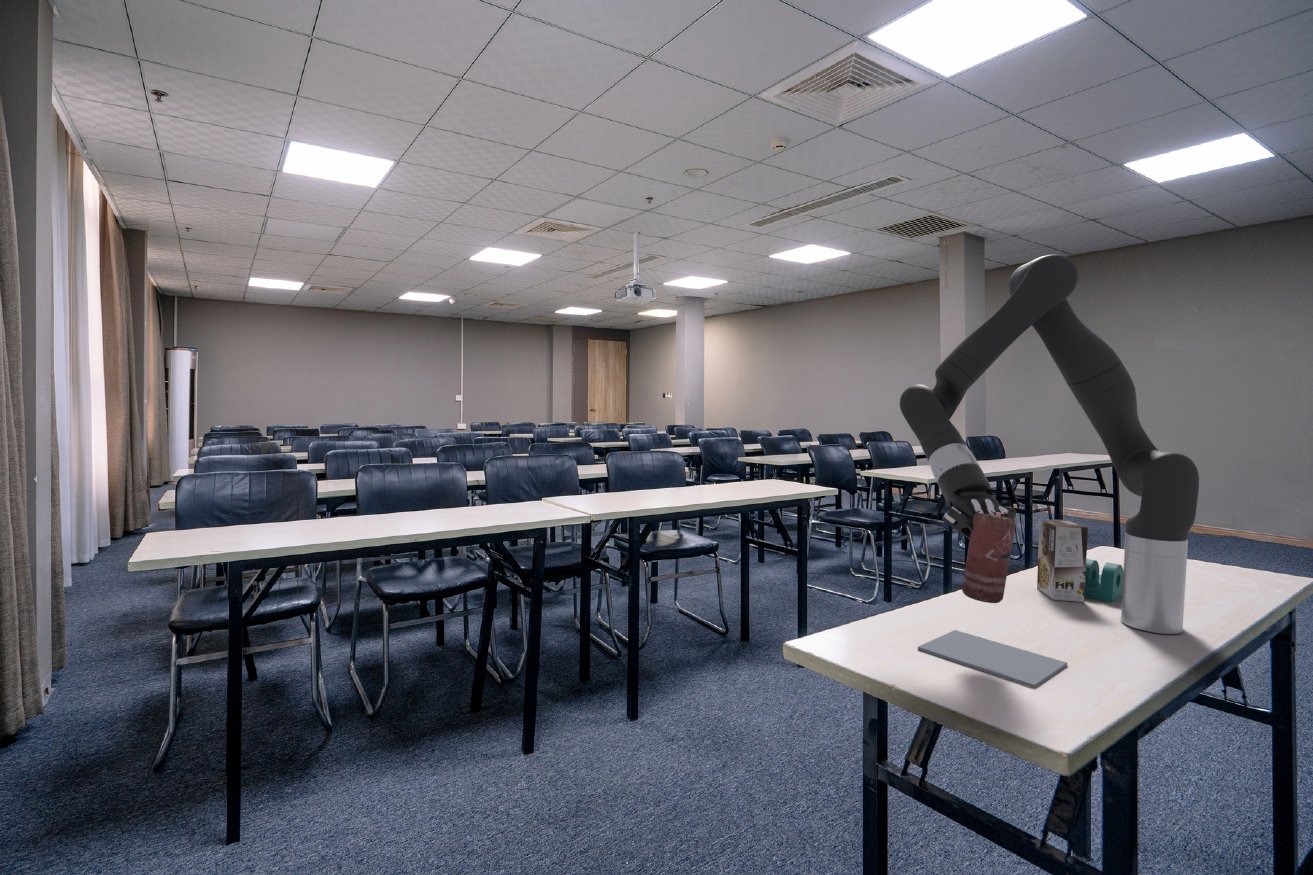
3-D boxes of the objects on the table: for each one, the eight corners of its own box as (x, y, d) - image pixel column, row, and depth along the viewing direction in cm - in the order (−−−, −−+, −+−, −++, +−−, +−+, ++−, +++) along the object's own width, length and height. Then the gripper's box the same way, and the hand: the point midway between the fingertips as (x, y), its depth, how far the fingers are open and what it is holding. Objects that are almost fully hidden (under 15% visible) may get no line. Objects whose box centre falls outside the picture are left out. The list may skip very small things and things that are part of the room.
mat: (954, 632, 114) (955, 629, 114) (1067, 665, 100) (1067, 662, 100) (917, 649, 106) (917, 646, 106) (1034, 688, 92) (1034, 684, 92)
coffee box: (1085, 602, 132) (1089, 527, 131) (1052, 600, 133) (1055, 525, 132) (1066, 590, 141) (1070, 519, 140) (1035, 588, 142) (1038, 518, 141)
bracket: (1112, 603, 132) (1113, 567, 132) (1075, 596, 137) (1077, 560, 137) (1138, 589, 143) (1140, 555, 143) (1103, 582, 148) (1105, 549, 148)
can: (1002, 596, 104) (1016, 514, 103) (1002, 606, 99) (1016, 521, 97) (962, 586, 107) (975, 507, 106) (959, 596, 102) (973, 513, 100)
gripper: (933, 461, 107) (977, 548, 96) (1003, 461, 109) (1053, 547, 98) (915, 487, 113) (954, 573, 101) (981, 487, 115) (1027, 571, 103)
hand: (1003, 560), depth 100 cm, fingers closed
